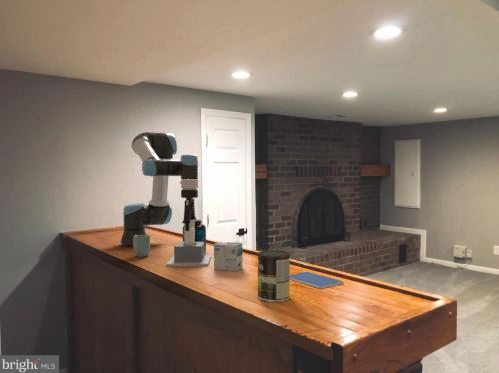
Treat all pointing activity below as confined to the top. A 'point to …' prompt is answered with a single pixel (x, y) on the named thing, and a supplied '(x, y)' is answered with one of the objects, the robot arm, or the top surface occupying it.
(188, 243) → the peg
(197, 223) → the container
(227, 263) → the light bulb box
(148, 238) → the cup
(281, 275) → the coffee can
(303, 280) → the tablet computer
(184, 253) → the socket block
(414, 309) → the top surface
